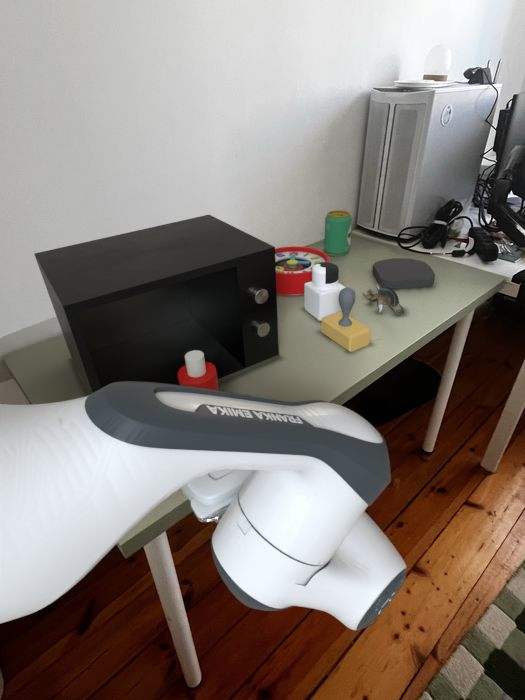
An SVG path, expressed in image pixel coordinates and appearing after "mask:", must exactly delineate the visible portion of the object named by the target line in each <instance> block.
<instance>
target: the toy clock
mask: <svg viewBox="0 0 525 700" xmlns="http://www.w3.org/2000/svg"><path fill="white" fill-rule="evenodd" d="M275 261H276V289H277V295H281V296H302V295H304V284H305V283H307V282H311V281H312V267H313V266H314V265H315V264H318V263H321V262H330V257H329V255H328V254H327V253H326V252H324V251H322V250H320V249H317V248H313V247H308V246H295V245H293V246H281V247H275Z"/></svg>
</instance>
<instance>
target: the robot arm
mask: <svg viewBox="0 0 525 700" xmlns="http://www.w3.org/2000/svg"><path fill="white" fill-rule="evenodd" d="M391 475H392V473H391V462H390V455H389V449H388V446H387V442H386V439H385V437H384V436H383V435H382V433H381V432H379V431H378V429H376V428H375V427H374V426H373V424H372V423H370V422H369V421H368V420H367V419H366V418H364V417H363V416H361V415H360V414H358V412H356V411H354V410H351V409H350V408H348V407H346V406H343V405H340V404H337V403H332V402H330V401H327V400H323V399H307V400H285V399H277V398H271V397H265V396H258V395H251V394H244V393H238V392H230V391H224V390H219V391H218V390H211V389H204V388H197V387H190V386H182V385H174V384H164V383H155V382H138V381H121V382H114V383H111V384H108V385H107V386H105V387H103V388H101V389H99V390H98V391H96V392H94V393H92V394H90V395H89V394H88V395H85V396H81V397H76V398H71V399H68V400H61V401H54V402H47V403H46V402H45V403H33V404H31V403H30V404H11V403H9V404H7V403H0V625H1V624H4V623H7V622H10V621H13V620H16V619H20V618H23V617H26V616H29V615H31V614H34V613H37V612H38V611H41V610H42V609H44V608H46V607H47V606H49V605H51V604H53V603H54V602H56V601H57V600H58V599H59V598H61V597H62V596H63V595H65V594H66V593H68V592H69V591H70V590H71V589H73V587H74V586H76V585H77V584H78V583H79V582H80V581H81V580H83V579H84V578H85V577H86V576H87V575H88V574H89V573H90V572H91V571H92V570H93V569H94V568H95V567H96V566H97V565H98V564H99V563H100V561H101V560H103V558H105V557H106V555H107V554H108V553H109V552H111V550H113V548H114V547H115V546H116V545H117V544H118V543H119V542H120V541H121V540H123V538H124V537H125V536H127V534H128V533H130V531H131V530H132V529H134V528H135V527H136V526H137V525H138V524H139V523H140V522H141V521H142V520H144V519H145V518H146V517H147V516H148V515H149V514H150V513H152V511H154V510H155V509H156V508H157V507H159V506H160V505H161V504H162V503H163V502H165V501H166V500H167V499H168V498H170V497H171V496H172V495H173V494H175V493H176V492H178V491H180V490H181V492H182V493H183V495H184V496H185V497H186V499H187V500H188V501H189V506H190V510H191V511H192V513H193V515H194V516H195V518H196V519H197V520H198V521H199V522H201V523H212V522H214V523H215V524H217V525H216V527H215V530H214V531H213V532H212V534H211V537H210V548H211V554H212V555H211V556H212V559H213V562H214V565H215V568H216V570H217V573H218V574H219V576H220V578H221V580H222V581H223V583H224V585H225V586H226V587H227V589H228V591H230V593H231V594H232V595H233V596H234V597H235V599H237V601H239V602H240V603H241V604H243V605H244V606H245V607H248V608H250V609H253V610H259V611H266V612H274V611H275V612H277V611H282V610H283V611H285V610H287V609H291V608H293V607H301V608H308V609H313V610H317V611H322V612H325V613H327V614H329V615H331V616H332V617H334V618H335V619H336V620H338V621H339V622H340V623H342V624H343V625H344V626H345V627H346V628H347V629H350V630H352V631H360V630H362V629H366V628H367V627H369V626H370V625H372V624H373V623H374V622H375V621H376V620H377V619H378V618H379V617H380V616H381V614H382V613H383V612H384V611H385V610H386V609H387V607H388V606H389V605H390V603H391V602H392V601H393V599H394V598H395V597H396V596H397V594H398V593H399V591H400V590H401V588H402V587H403V585H404V583H405V581H406V577H407V564H406V562H405V560H404V559H403V557H402V556H401V553H400V552H399V551H398V549H397V548H396V547H395V545H394V544H393V543H392V542H391V540H390V539H389V537H388V536H387V535H386V534H385V532H384V531H383V530H382V529H381V528H380V526H379V525H378V524H377V523H376V522H375V521H374V520H373V519H372V517H371V516H370V515H369V514H368V513H367V511H366V510H367V508H368V507H371V506H372V505H373V503H374V502H375V501H376V500H377V499H378V498H379V497H380V496H381V494H382V493H383V492H384V490H386V488H387V487H388V485H390V483H391V481H392V476H391Z"/></svg>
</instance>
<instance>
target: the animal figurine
mask: <svg viewBox="0 0 525 700" xmlns="http://www.w3.org/2000/svg"><path fill="white" fill-rule="evenodd" d="M375 287H376V288H377V293H374V291H373V290H372V289H371V288H369V290H367V291H366V293H364V292H362V296H363V297H365V298H366V299H367V300H368V304H369V305H370V306H372V304H374V303H377V306H378V314H381V312H382V311H383V308H384V307H383V306H384V305H387V306H389V307H390V308H391V309H392V310H393V311H394V312H395V315H397V316H399V315H400V316H404V315H405V312H406V311H405V309H404V307H403V306H402V305H401V304H400V301H399V300H400V298H399V296H398V293H397V292H396V291H395V289H394V288H389V287H385V286H381V287H379V285H378V284H375Z"/></svg>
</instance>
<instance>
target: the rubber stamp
mask: <svg viewBox="0 0 525 700" xmlns="http://www.w3.org/2000/svg"><path fill="white" fill-rule="evenodd" d="M338 299H339V304H340V307H341V310H342V312H338V313H335V314H332V315H329V316H327V317H324V318H322V320H321V321H320V323H321V325H320V330H321V331H320V332H321V333H322V334H323V335H325V336H327V337H328V338H329V339H330V340H332V341H334V342H335V343H336V344H338V345H339V346H341V347H342V348H344V349H345V350H347V351H348V352H350V353H352V352H355V351H357V350H359V349H362V348H364V347H366V346H369V345H370V341H371V331H372V330H371V328H369V327H367V326H366V325H365V324H363V323H361V322H359V321H358V320H356V319H354V318H352V317H351V316H350V313H351V311H352V309H353V306H354V305H355V302H356V293H355V290H354V289H353V288H351V287H346V288H344V289H342V290H341V291H340V293H339V298H338Z"/></svg>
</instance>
